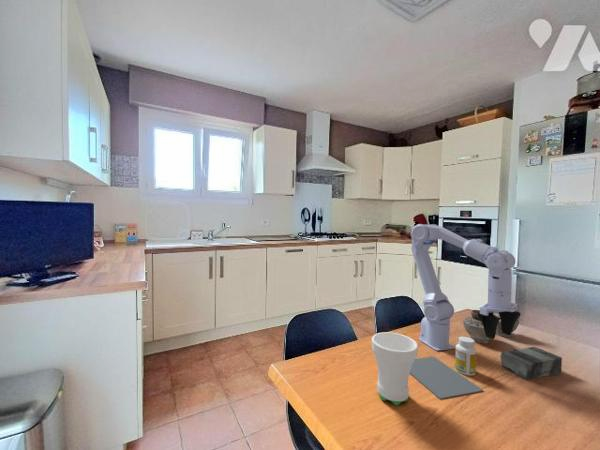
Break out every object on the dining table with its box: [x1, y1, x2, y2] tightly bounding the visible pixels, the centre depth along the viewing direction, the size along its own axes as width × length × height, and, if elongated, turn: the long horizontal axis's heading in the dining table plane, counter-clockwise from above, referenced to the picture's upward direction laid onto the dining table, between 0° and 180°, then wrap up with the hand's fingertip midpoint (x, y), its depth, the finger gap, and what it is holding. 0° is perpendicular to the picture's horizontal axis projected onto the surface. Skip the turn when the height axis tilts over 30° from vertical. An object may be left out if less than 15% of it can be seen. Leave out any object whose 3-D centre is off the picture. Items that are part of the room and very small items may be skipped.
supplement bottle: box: [454, 336, 477, 377], centre depth 82 cm, size 5×5×10 cm
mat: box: [409, 356, 484, 400], centre depth 80 cm, size 18×14×1 cm
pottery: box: [462, 309, 520, 344], centre depth 107 cm, size 11×25×12 cm, turn 115°
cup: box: [371, 331, 419, 406], centre depth 70 cm, size 11×11×14 cm
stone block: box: [500, 346, 563, 381], centre depth 85 cm, size 9×14×5 cm, turn 105°
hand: (498, 335), depth 83 cm, fingers open, 7 cm apart
